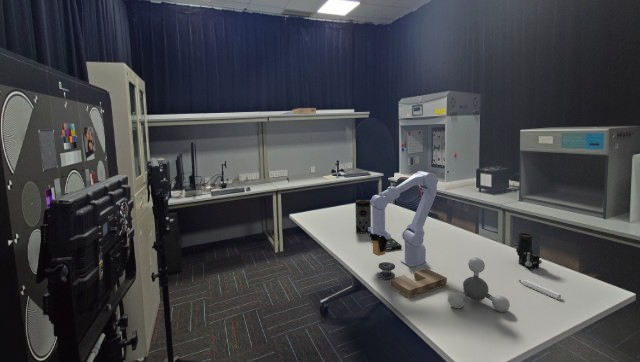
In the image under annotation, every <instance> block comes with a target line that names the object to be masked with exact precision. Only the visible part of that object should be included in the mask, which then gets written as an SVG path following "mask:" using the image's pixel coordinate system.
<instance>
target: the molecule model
mask: <svg viewBox="0 0 640 362" xmlns="http://www.w3.org/2000/svg"><path fill="white" fill-rule="evenodd" d="M467 266H468V268H469V270H470V271H472V272H473V276H469V277H468V278H465V279H464V280H463V282H462V287H463V292H462V293H459V292H455V291H454V292H451V293H450V294H448V297H447V302H448V304H449V306H450V307H451V308H454V309H461V308H462V307H463V306H464V304H465V299H466V298H469V299H471V300H472V301H477V302H478V301H483V300H484V299H485V298H486V299H487V300H489V301H491V305H492V307H493V308H494V310H496V311H497V312H500V313H505V312H507V311H509V309H510V306H511V305H510V303H511V302H510V301H509V300H508V298H506V296H503V295H496V296H493V295H492V294H490V293H489V285H488V284H487V282H486V281H485V280H484V279H483V278H481V277H479V276H480V275H479V274H480V273H482V272H483V271H484V270H485V268H486V265H485V261H484V260H483V259H481V258H480V257H472V258H470V259H469V261H468V262H467Z"/></svg>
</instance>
